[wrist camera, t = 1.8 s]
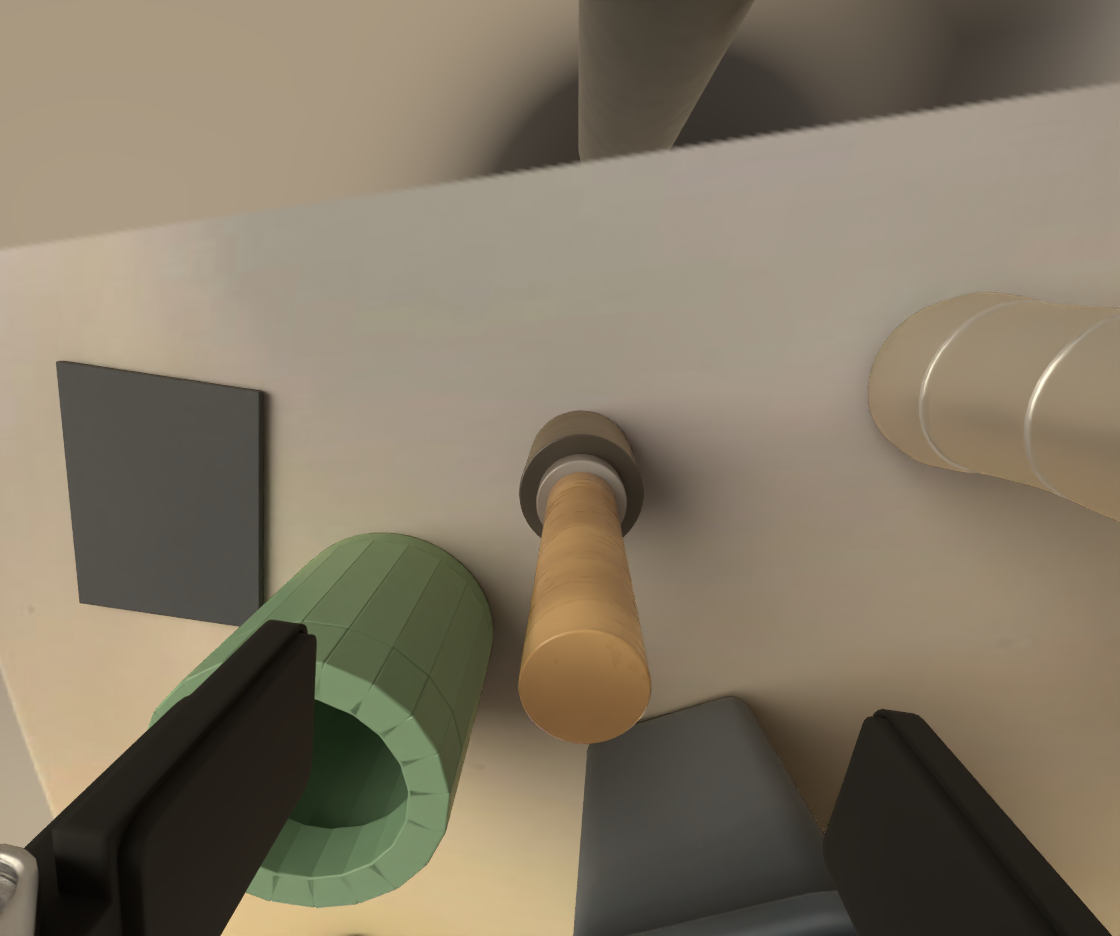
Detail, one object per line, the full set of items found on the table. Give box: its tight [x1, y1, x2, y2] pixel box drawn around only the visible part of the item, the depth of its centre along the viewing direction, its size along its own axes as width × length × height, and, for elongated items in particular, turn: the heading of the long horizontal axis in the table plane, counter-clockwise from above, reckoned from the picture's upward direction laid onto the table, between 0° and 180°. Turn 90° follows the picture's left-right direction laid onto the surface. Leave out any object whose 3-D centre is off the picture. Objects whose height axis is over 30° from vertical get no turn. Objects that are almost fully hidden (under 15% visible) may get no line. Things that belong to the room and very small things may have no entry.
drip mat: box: [56, 361, 263, 626], centre depth 26 cm, size 12×9×1 cm
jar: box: [148, 533, 493, 908], centre depth 23 cm, size 10×10×10 cm
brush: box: [518, 411, 651, 744], centre depth 18 cm, size 5×5×16 cm
